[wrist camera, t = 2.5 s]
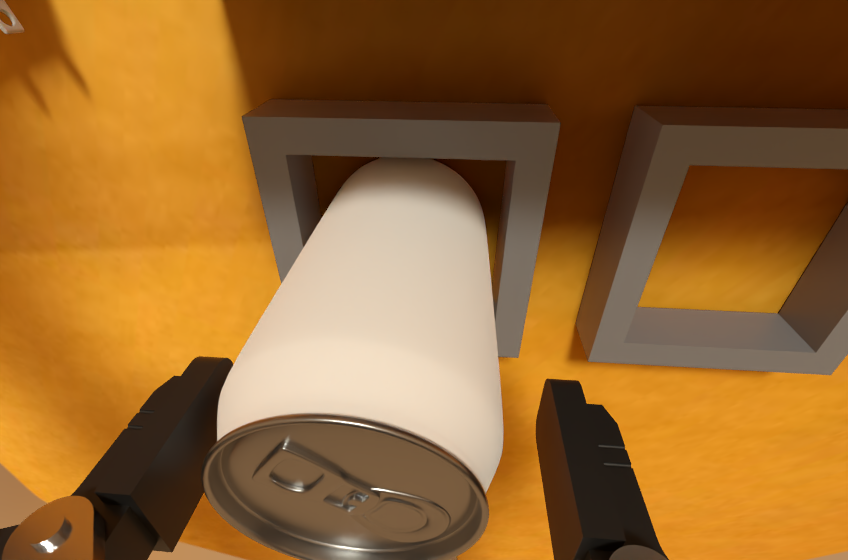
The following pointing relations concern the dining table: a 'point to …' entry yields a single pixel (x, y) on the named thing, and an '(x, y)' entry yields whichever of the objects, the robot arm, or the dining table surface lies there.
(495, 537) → the dining table surface
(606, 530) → the robot arm
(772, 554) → the dining table surface
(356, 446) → the can
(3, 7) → the usb wall charger
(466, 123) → the dock
